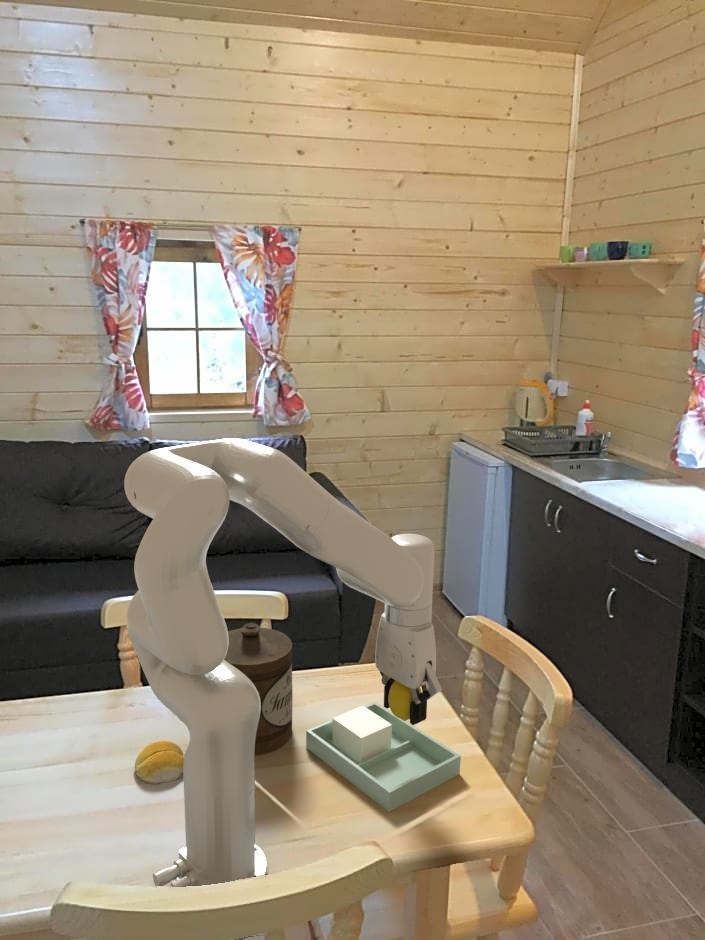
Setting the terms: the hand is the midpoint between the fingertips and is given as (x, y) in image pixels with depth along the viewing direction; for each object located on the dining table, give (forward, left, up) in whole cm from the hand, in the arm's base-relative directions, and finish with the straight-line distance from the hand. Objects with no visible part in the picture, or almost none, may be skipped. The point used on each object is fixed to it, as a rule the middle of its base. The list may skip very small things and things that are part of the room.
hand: (404, 712), depth 132 cm
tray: (0, +5, -12) cm, 13 cm away
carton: (0, +11, -12) cm, 16 cm away
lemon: (0, 0, -2) cm, 2 cm away
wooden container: (-13, +26, -12) cm, 32 cm away
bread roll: (-31, +27, -13) cm, 43 cm away
